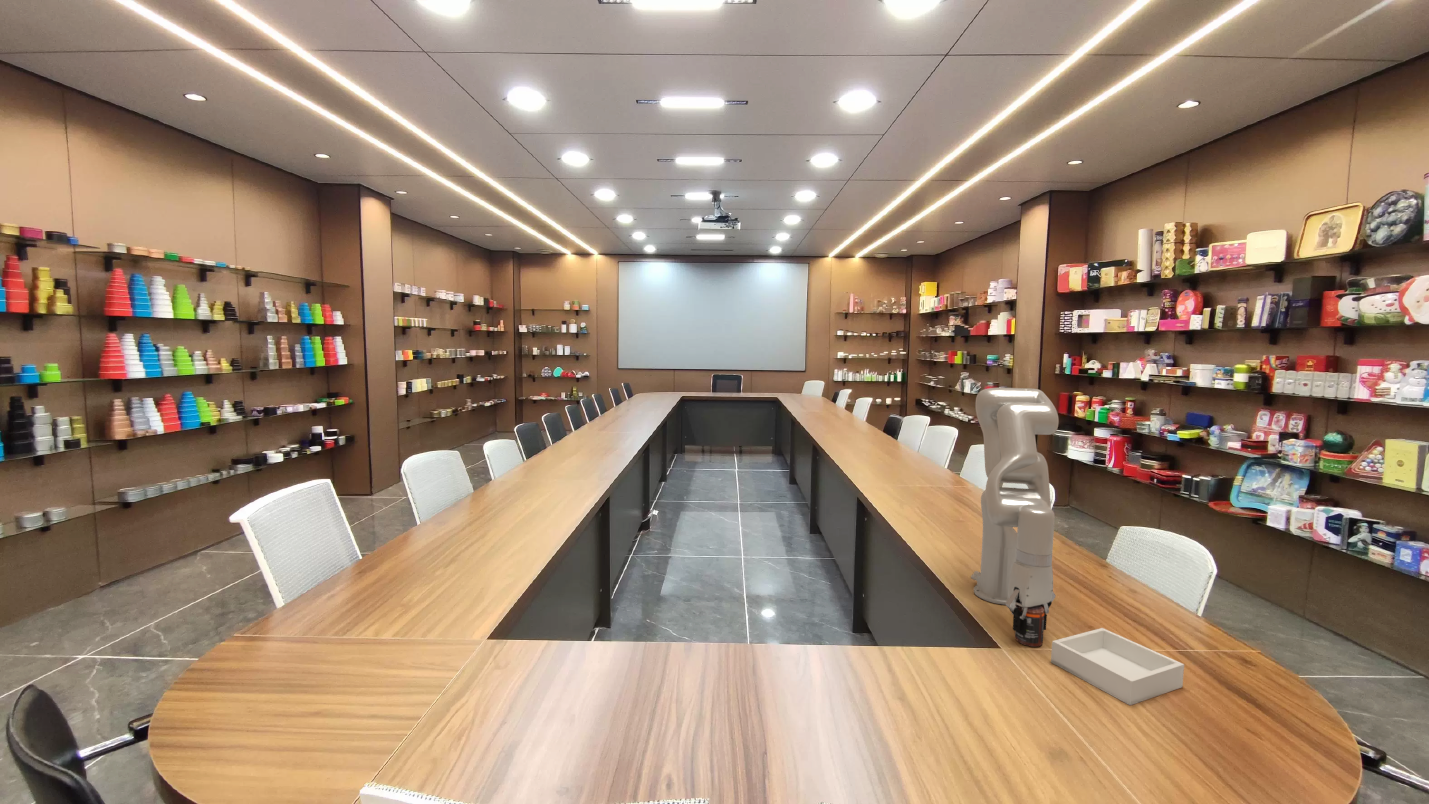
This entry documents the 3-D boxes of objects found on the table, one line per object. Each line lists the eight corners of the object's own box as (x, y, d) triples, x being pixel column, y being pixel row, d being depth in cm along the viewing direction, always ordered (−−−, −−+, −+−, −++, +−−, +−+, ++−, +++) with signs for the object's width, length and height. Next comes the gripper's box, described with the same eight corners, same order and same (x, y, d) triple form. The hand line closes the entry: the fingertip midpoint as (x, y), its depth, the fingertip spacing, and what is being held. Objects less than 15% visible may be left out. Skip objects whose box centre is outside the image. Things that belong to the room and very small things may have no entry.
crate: (1050, 662, 129) (1052, 640, 128) (1100, 648, 135) (1102, 627, 135) (1130, 705, 113) (1132, 681, 113) (1182, 687, 120) (1184, 664, 119)
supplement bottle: (1035, 636, 141) (1038, 591, 140) (1047, 648, 135) (1050, 602, 134) (1010, 634, 141) (1013, 590, 140) (1020, 647, 135) (1023, 601, 134)
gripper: (1044, 548, 143) (1040, 617, 144) (994, 556, 136) (989, 629, 138) (1073, 558, 136) (1068, 630, 138) (1021, 567, 129) (1017, 644, 131)
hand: (1029, 629), depth 138 cm, fingers closed on supplement bottle, 6 cm apart
